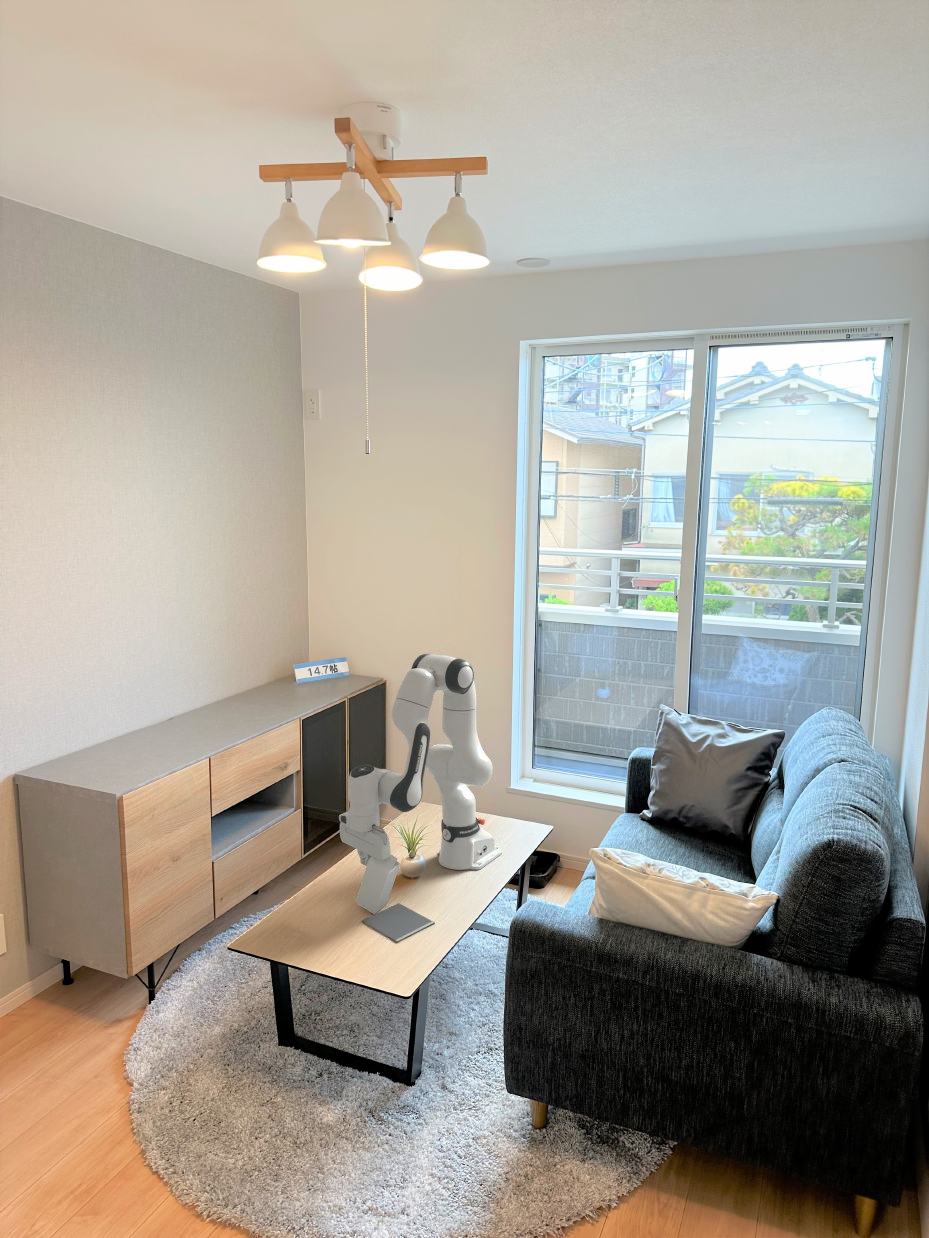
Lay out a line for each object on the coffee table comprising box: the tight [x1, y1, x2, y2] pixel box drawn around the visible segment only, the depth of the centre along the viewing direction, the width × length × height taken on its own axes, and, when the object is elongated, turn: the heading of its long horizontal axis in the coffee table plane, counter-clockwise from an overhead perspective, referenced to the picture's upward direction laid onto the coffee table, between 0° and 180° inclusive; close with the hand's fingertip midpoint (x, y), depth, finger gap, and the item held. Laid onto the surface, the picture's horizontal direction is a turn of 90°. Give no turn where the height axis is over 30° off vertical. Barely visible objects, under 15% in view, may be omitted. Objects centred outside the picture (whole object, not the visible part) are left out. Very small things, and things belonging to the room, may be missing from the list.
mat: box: [361, 902, 435, 944], centre depth 239 cm, size 14×16×1 cm
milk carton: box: [355, 852, 401, 915], centre depth 244 cm, size 7×7×19 cm
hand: (365, 864), depth 246 cm, fingers closed
